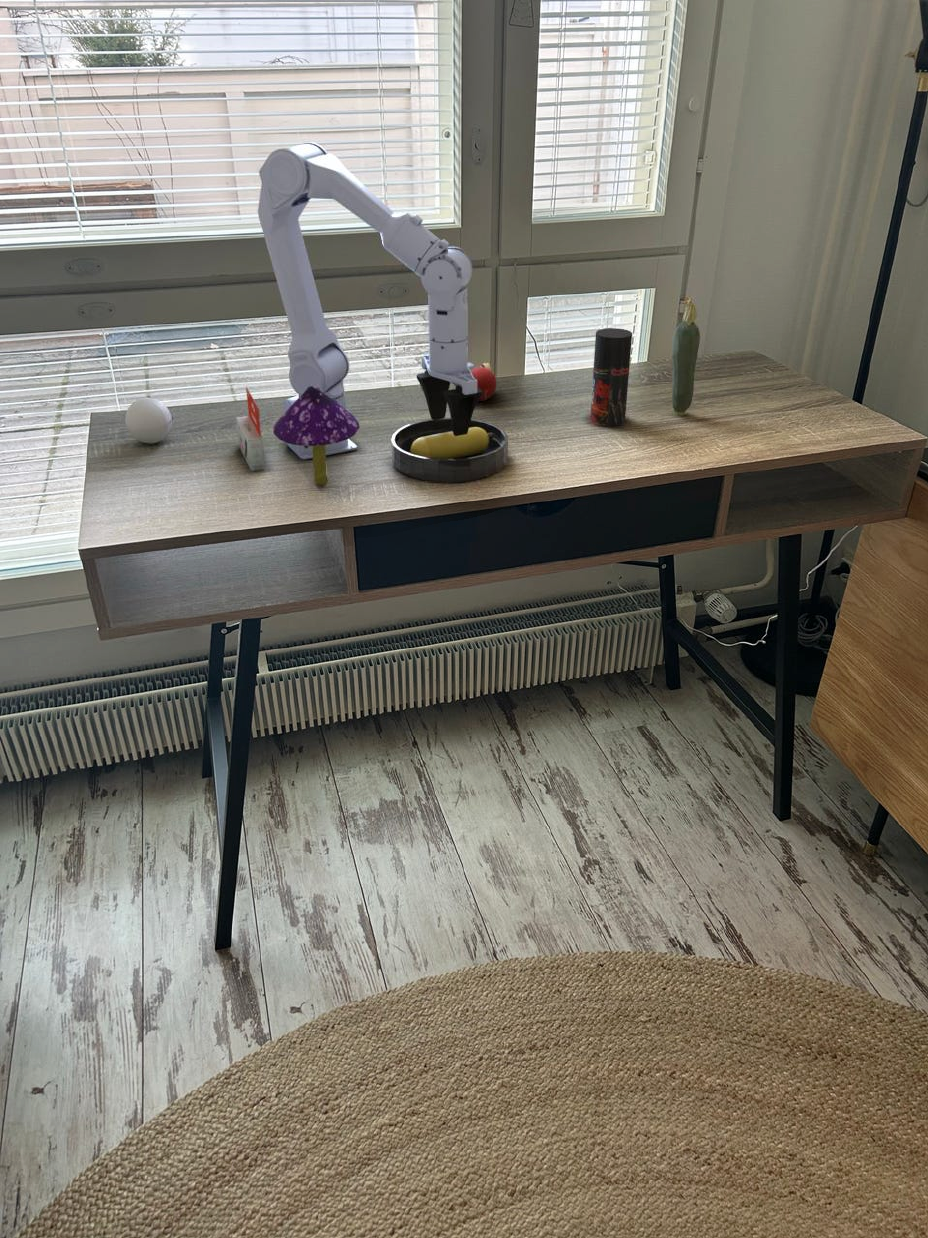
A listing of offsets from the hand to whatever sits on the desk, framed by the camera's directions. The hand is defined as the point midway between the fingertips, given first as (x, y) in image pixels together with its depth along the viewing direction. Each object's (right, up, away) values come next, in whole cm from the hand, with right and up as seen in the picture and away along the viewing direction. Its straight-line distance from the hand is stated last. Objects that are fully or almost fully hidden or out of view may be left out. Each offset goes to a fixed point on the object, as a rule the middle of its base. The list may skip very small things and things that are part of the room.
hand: (449, 426), depth 147 cm
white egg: (-49, 0, +12) cm, 51 cm away
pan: (0, -5, +3) cm, 6 cm away
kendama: (+3, +13, +32) cm, 35 cm away
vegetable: (+40, +6, +20) cm, 44 cm away
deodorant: (+27, +4, +18) cm, 33 cm away
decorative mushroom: (-19, -10, -4) cm, 22 cm away
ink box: (-31, -4, +5) cm, 32 cm away
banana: (0, -4, +3) cm, 5 cm away
